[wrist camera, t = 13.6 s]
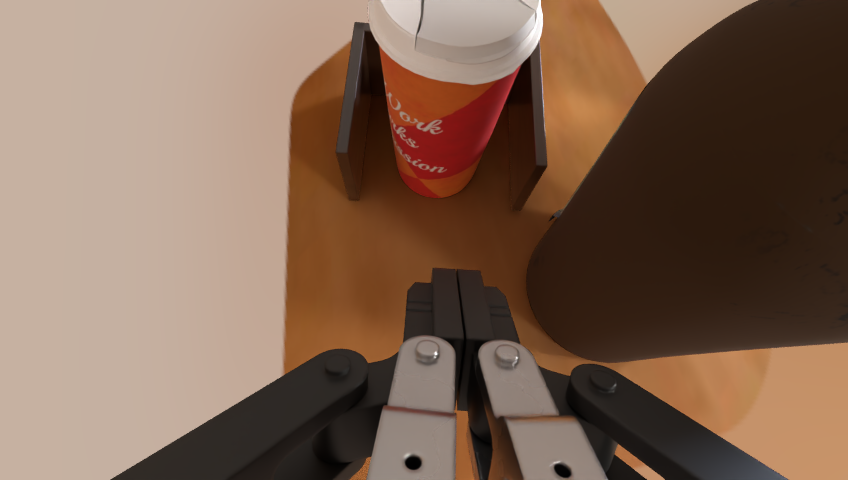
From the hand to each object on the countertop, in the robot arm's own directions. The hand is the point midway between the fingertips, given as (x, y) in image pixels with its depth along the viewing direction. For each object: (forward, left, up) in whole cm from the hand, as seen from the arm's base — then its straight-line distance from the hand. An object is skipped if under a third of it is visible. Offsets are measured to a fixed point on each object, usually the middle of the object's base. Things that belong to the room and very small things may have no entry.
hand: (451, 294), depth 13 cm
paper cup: (-3, -12, -13) cm, 19 cm away
